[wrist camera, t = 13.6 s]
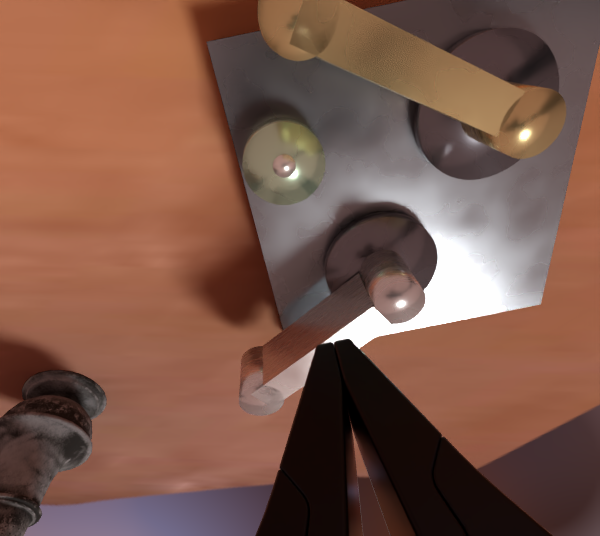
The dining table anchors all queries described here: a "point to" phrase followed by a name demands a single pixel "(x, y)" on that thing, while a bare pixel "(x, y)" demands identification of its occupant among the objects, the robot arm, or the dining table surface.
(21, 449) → the salt shaker
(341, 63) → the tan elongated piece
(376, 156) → the plate
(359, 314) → the silver lever handle
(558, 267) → the dining table surface
